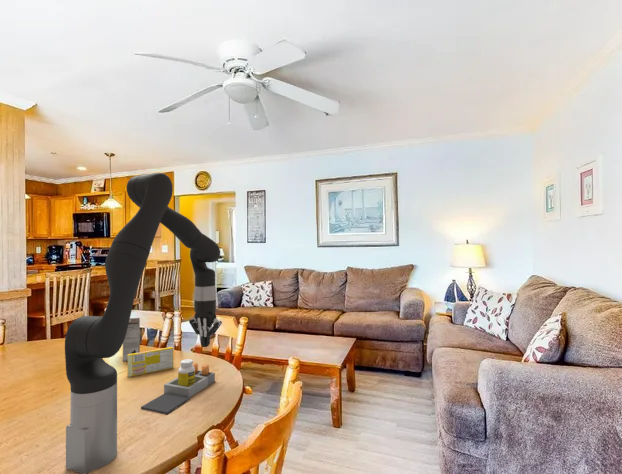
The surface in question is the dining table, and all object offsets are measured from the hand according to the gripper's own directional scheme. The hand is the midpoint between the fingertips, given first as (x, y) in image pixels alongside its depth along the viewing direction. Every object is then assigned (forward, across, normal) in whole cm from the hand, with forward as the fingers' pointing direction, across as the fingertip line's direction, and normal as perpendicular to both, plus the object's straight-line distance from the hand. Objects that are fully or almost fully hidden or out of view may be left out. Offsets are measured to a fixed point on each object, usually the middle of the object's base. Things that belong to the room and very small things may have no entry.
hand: (205, 346), depth 122 cm
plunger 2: (+10, 0, 0) cm, 10 cm away
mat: (+13, -1, -18) cm, 22 cm away
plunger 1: (+10, -5, 0) cm, 11 cm away
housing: (+13, -2, -5) cm, 14 cm away
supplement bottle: (+13, -2, -7) cm, 15 cm away
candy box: (+13, -26, +2) cm, 30 cm away
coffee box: (+13, -47, +12) cm, 51 cm away
